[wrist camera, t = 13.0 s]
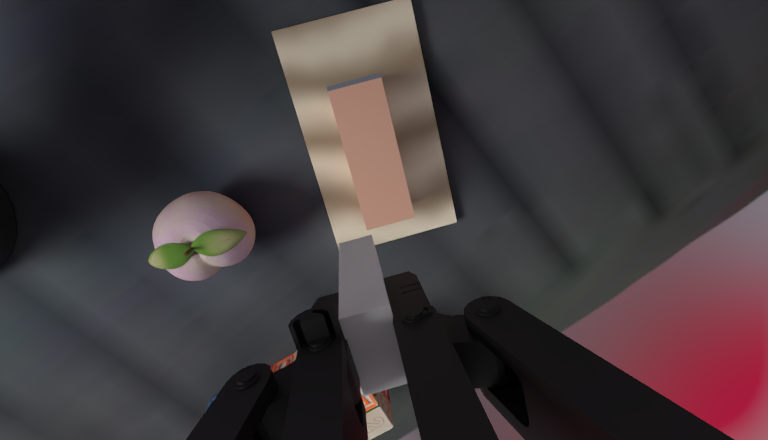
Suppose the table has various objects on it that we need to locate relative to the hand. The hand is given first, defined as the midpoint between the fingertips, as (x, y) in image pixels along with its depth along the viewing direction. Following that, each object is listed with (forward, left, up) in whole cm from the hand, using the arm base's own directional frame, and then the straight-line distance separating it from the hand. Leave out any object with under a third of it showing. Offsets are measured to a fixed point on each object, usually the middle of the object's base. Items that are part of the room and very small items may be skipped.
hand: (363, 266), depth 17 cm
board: (-1, +5, -26) cm, 27 cm away
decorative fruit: (-8, -13, -27) cm, 31 cm away
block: (-6, +8, -23) cm, 25 cm away
